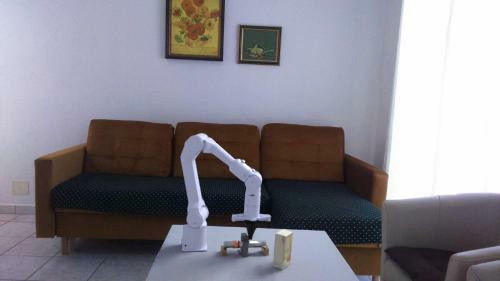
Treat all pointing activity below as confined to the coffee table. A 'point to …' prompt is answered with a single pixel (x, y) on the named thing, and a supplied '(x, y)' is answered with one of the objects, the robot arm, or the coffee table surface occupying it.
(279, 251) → the skincare box
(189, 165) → the robot arm
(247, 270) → the coffee table surface
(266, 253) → the pipe
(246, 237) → the grey square collar
